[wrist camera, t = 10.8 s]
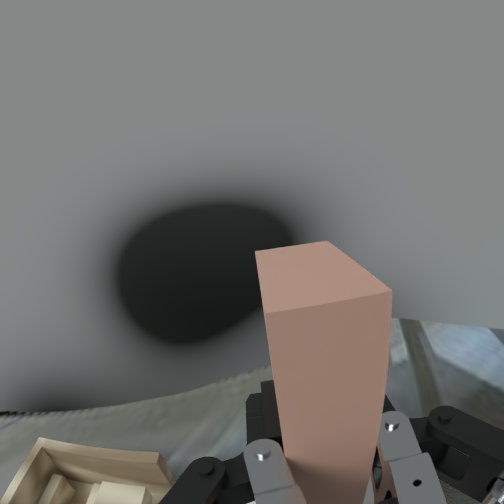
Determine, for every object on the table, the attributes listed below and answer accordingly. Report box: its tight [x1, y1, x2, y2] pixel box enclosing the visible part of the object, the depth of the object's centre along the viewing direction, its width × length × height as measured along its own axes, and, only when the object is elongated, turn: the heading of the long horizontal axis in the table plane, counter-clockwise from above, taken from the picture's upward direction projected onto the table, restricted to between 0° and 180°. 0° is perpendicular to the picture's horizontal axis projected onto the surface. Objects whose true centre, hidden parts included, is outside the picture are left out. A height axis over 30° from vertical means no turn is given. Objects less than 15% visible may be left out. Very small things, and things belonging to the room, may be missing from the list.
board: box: [255, 241, 392, 504], centre depth 12 cm, size 6×3×20 cm, turn 1°
